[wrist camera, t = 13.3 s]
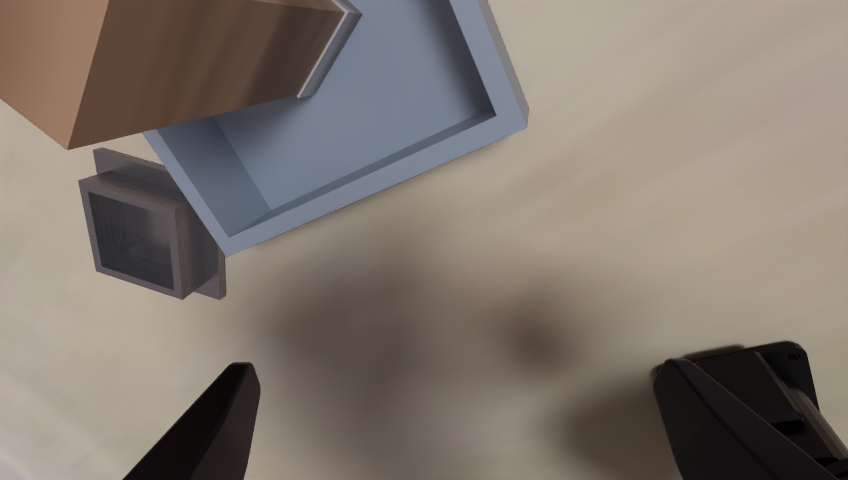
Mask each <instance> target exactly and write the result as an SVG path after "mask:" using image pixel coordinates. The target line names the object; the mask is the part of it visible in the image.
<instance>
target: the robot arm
mask: <svg viewBox="0 0 848 480" xmlns="http://www.w3.org/2000/svg"><path fill="white" fill-rule="evenodd" d="M792 352H795V353H794V354H792V355H789V354H790V353H792ZM653 389H654V393H655V396H656V400H657V403H658V406H659V410H660V413H661V416H662V420H663V423H664V426H665V430H666V433H667V436H668V440H669V443H670V446H671V449H672V452H673V455H674V458H675V461H676V463H677V466H678V469H679V471H680V474H681V476H682V478H683V480H848V449H847V448H846V447H845V445H844V444H843V443H842V441H841V440H840V439H839V437H838V436H837V435H836V433H835V432H834V431H833V429H832V428H831V427H830V425H829V424H828V423H827V421H826V420H825V419H824V417H823V416H822V415H821V413H820V410H819V406H818V401H817V397H816V392H815V388H814V384H813V379H812V375H811V370H810V366H809V361H808V357H807V353H806V352H805V350H804V349H803V348H802V347H801V346H800V345H799V344H797V343H784V344H779V345H773V346H768V347H763V348H757V349H752V350H747V351H741V352H736V353H730V354H725V355H720V356H714V357H709V358H704V359H698V360H693V361H689V360H687V359H668V360H666V361H665V362H664V364H663V366H662V367H659V368H658V369H657V370H656V377H655V379H654V382H653ZM259 399H260V383H259V380H258V377H257V374H256V372H255V369H254V366H253V364H251V363H250V362H235V363H232V364H230V365H229V366H228V367H227V368H226V369H225V370H224V371H223V372H222V373H221V374H220V375H219V376H218V377H217V378H216V380H215V381H214V382H213V383H212V384H211V385H210V386H209V387H208V388H207V389H206V390H205V391H204V392H203V394H202V395H201V396H200V397H199V398H198V399H197V400H196V401H195V402H194V403H193V404H192V405H191V406H190V407H189V409H188V410H187V411H186V412H185V413H184V414H183V415H182V416H181V417H180V418H179V419H178V420H177V421H176V423H175V424H174V425H173V426H172V427H171V428H170V429H169V430H168V431H167V432H166V433H165V434H164V435H163V437H162V438H161V439H160V440H159V441H158V442H157V443H156V444H155V445H154V446H153V447H152V448H151V449H150V451H149V452H148V453H147V454H146V455H145V456H144V457H143V458H142V459H141V460H140V461H139V462H138V463H137V464H136V466H135V467H134V468H133V469H132V470H131V471H130V472H129V473H128V474H127V475H126V476H125V477H124V478H123V480H244V476H245V472H246V468H247V464H248V459H249V454H250V448H251V443H252V437H253V432H254V426H255V421H256V415H257V410H258V404H259Z"/></svg>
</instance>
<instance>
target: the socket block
mask: <svg viewBox="0 0 848 480" xmlns="http://www.w3.org/2000/svg"><path fill="white" fill-rule="evenodd" d="M93 153H94V159H95V165H96V171H97V175H94V176H91V177H88V178H85V179H81V180H78V182H79V187H80V192H81V197H82V202H83V207H84V212H85V217H86V222H87V227H88V232H89V237H90V242H91V247H92V253H93V258H94V263H95V268H96V271H97V272H100V273H103V274H106V275H109V276H112V277H115V278H118V279H121V280H124V281H127V282H130V283H133V284H136V285H139V286H142V287H145V288H148V289H151V290H154V291H157V292H160V293H163V294H166V295H170V296H173V297H176V298H179V299H182V300H183V299H184V298H186V297H187V296H188V295H190V294H191V293H192V292H197V293H200V294H203V295H206V296H209V297H212V298H215V299H218V300H220V299H222V298H223V297H224V296H225V295H226V287H225V254H224V253H223V251H222V250H221V248H220V247H219V245H218V244H217V242H216V241H215V240H214V238H213V237H212V235H211V234H210V232H209V231H208V229H207V228H206V226H205V225H204V223H203V222H202V220H201V219H200V217H199V216H198V214H197V213H196V212H195V210H194V209H193V207H192V206H191V204H190V203H189V201H188V200H187V198H186V197H185V195H184V194H183V192H182V191H181V189H180V188H179V186H178V185H177V184H176V182H175V181H174V179H173V178H172V176H171V175H170V173H169V172H168V170H167V169H166V167H165V166H164V165H160V164H157V163H153V162H150V161H146V160H143V159H140V158H136V157H133V156H129V155H126V154H122V153H119V152H116V151H112V150H109V149H105V148H99V149H95V150H93Z"/></svg>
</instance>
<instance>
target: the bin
mask: <svg viewBox="0 0 848 480" xmlns="http://www.w3.org/2000/svg"><path fill="white" fill-rule="evenodd" d="M348 1H349V2H350V3H351V4H352V5H354V6H355V7H356V8H357V9H358V10H359V11H360V12H361V13H363V15H362V17H361V18H360V20H359V22H358V23H357V25H356V27H355V28H354V30H353V32H352V34H351V35H350V37H349V39H348V40H347V42H346V44H345V45H344V47H343V49H342V50H341V52H340V54H339V55H338V57H337V59H336V60H335V62H334V64H333V65H332V67H331V69H330V70H329V72H328V74H327V75H326V77H325V79H324V80H323V82H322V84H321V85H320V87H319V89H318V90H317V92H316V94H313V95H309V96H305V97H301V98H298V97H297V96H296V95H295V96H291V97H287V98H282V99H278V100H274V101H270V102H266V103H262V104H257V105H253V106H249V107H245V108H241V109H237V110H233V111H228V112H224V113H220V114H216V115H212V116H208V117H203V118H199V119H195V120H191V121H187V122H183V123H178V124H174V125H170V126H166V127H162V128H158V129H153V130H149V131H145V132H142V133H143V135H144V136H145V138H146V139H147V141H148V142H149V144H150V145H151V147H152V148H153V150H154V151H155V153H156V154H157V156H158V157H159V158H160V160H161V161H162V163H163V164H164V166H165V167H166V169H167V170H168V172H169V173H170V175H171V176H172V178H173V179H174V181H175V182H176V184H177V185H178V186H179V188H180V189H181V191H182V192H183V194H184V195H185V197H186V198H187V200H188V201H189V203H190V204H191V206H192V207H193V209H194V210H195V212H196V213H197V214H198V216H199V217H200V219H201V220H202V222H203V223H204V225H205V226H206V228H207V229H208V231H209V232H210V234H211V235H212V237H213V238H214V240H215V241H216V242H217V244H218V245H219V247H220V248H221V250H222V251H223V253H224V254H225V256H226V257H228V256H230V255H233V254H235V253H237V252H240V251H242V250H244V249H247V248H249V247H251V246H254V245H256V244H258V243H261V242H263V241H265V240H267V239H270V238H272V237H274V236H277V235H279V234H281V233H284V232H286V231H288V230H291V229H293V228H295V227H298V226H300V225H302V224H305V223H307V222H309V221H312V220H314V219H316V218H319V217H321V216H323V215H325V214H328V213H330V212H332V211H335V210H337V209H339V208H342V207H344V206H346V205H349V204H351V203H353V202H356V201H358V200H360V199H363V198H365V197H367V196H370V195H372V194H374V193H376V192H379V191H381V190H383V189H386V188H388V187H390V186H393V185H395V184H397V183H400V182H402V181H404V180H407V179H409V178H411V177H414V176H416V175H418V174H421V173H423V172H425V171H427V170H430V169H432V168H434V167H437V166H439V165H441V164H444V163H446V162H448V161H451V160H453V159H455V158H458V157H460V156H462V155H465V154H467V153H469V152H472V151H474V150H476V149H478V148H481V147H483V146H485V145H488V144H490V143H492V142H495V141H497V140H499V139H502V138H504V137H506V136H509V135H511V134H513V133H516V132H518V131H520V130H523V129H525V128H527V123H528V114H529V107H528V105H527V102H526V99H525V97H524V94H523V92H522V89H521V87H520V84H519V81H518V79H517V76H516V74H515V71H514V68H513V66H512V63H511V61H510V58H509V55H508V53H507V50H506V48H505V45H504V42H503V40H502V37H501V35H500V32H499V29H498V27H497V24H496V22H495V19H494V16H493V14H492V11H491V9H490V6H489V4H488V1H487V0H348Z"/></svg>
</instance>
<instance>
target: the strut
mask: <svg viewBox="0 0 848 480" xmlns="http://www.w3.org/2000/svg"><path fill="white" fill-rule="evenodd" d="M362 15H363V13H361V12H360V11H359V10H358V9H357V8H356V7H355V6H354V5H352V4H351V3H350V2H349V1H348V0H0V99H2V100H3V101H4V102H6V103H7V104H8V105H9V106H11V107H12V108H13V109H15V110H16V111H17V112H18V113H20V114H21V115H22V116H24V117H25V118H26V119H27V120H29V121H30V122H31V123H33V124H34V125H35V126H37V127H38V128H39V129H40V130H42V131H43V132H44V133H46V134H47V135H48V136H49V137H51V138H52V139H53V140H55V141H56V142H57V143H58V144H60V145H61V146H62V147H64V148H65V149H66V150H70V149H74V148H78V147H83V146H87V145H91V144H95V143H99V142H103V141H108V140H112V139H116V138H120V137H124V136H128V135H133V134H137V133H141V132H145V131H149V130H153V129H158V128H162V127H166V126H170V125H174V124H178V123H183V122H187V121H191V120H195V119H199V118H203V117H208V116H212V115H216V114H220V113H224V112H228V111H233V110H237V109H241V108H245V107H249V106H253V105H257V104H262V103H266V102H270V101H274V100H278V99H282V98H287V97H291V96H295V95H296V96H297V97H298V98H301V97H305V96H309V95H313V94H316V92H317V90H318V89H319V87H320V85H321V84H322V82H323V80H324V79H325V77H326V75H327V74H328V72H329V70H330V69H331V67H332V65H333V64H334V62H335V60H336V59H337V57H338V55H339V54H340V52H341V50H342V49H343V47H344V45H345V44H346V42H347V40H348V39H349V37H350V35H351V34H352V32H353V30H354V28H355V27H356V25H357V23H358V22H359V20H360V18H361V17H362Z"/></svg>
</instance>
